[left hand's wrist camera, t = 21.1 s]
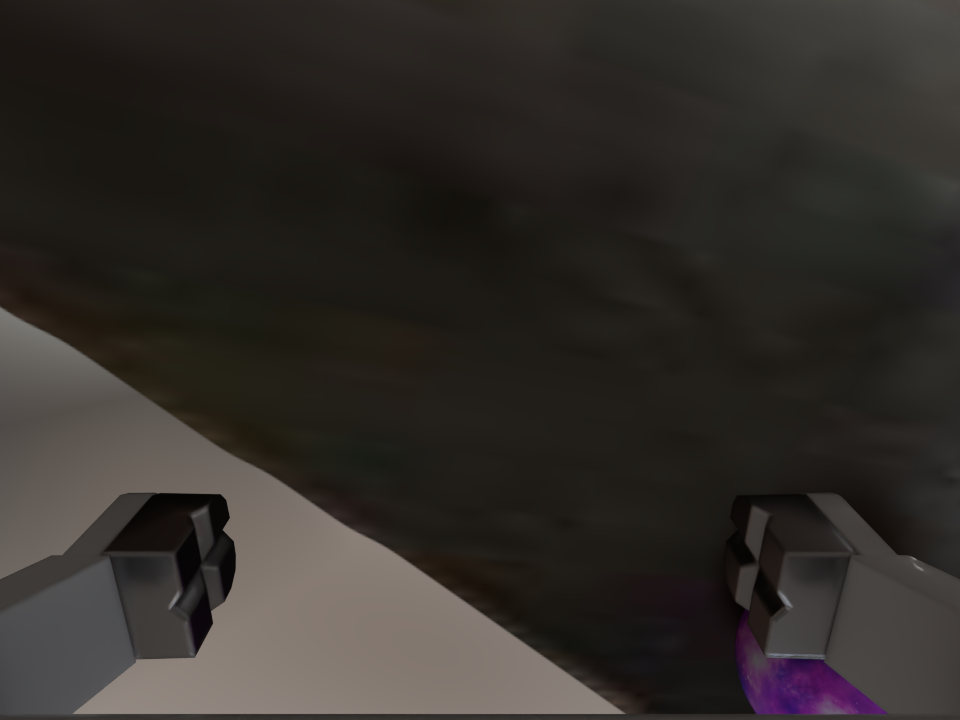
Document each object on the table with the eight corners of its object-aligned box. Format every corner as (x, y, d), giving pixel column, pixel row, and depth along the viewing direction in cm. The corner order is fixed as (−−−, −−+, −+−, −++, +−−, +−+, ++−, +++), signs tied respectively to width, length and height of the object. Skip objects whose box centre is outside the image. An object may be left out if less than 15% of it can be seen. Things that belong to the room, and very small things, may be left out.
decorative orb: (811, 503, 56) (921, 632, 42) (904, 599, 60) (1034, 747, 46) (678, 600, 60) (738, 748, 46) (773, 685, 64) (856, 845, 50)
